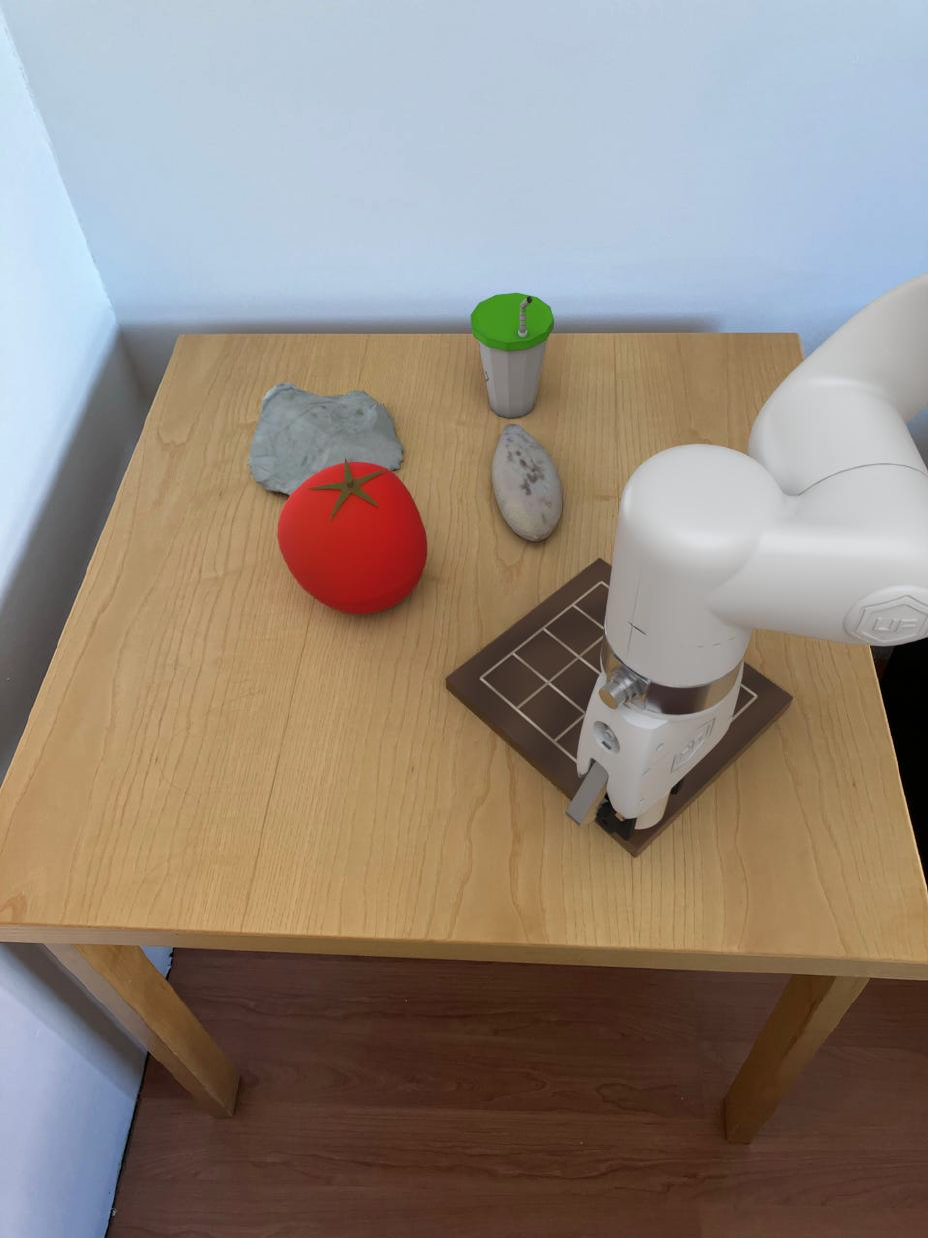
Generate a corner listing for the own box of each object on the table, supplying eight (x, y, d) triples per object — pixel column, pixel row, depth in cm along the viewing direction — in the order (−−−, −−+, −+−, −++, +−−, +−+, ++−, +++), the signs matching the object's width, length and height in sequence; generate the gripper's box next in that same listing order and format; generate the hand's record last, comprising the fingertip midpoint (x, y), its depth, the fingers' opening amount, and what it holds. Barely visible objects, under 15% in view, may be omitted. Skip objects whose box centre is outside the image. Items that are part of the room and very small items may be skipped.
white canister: (678, 802, 67) (687, 775, 63) (638, 841, 65) (645, 815, 62) (632, 764, 69) (638, 735, 65) (592, 801, 67) (596, 773, 64)
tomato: (454, 556, 85) (445, 451, 75) (400, 657, 79) (383, 556, 69) (331, 522, 89) (307, 416, 79) (269, 615, 82) (235, 513, 72)
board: (789, 707, 74) (794, 696, 73) (635, 859, 67) (637, 849, 66) (598, 568, 84) (599, 556, 83) (445, 688, 77) (444, 677, 76)
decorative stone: (539, 433, 95) (540, 406, 92) (576, 548, 85) (578, 521, 83) (478, 442, 94) (477, 415, 92) (509, 558, 85) (509, 532, 82)
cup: (481, 375, 100) (477, 244, 89) (555, 382, 99) (561, 250, 87) (466, 425, 96) (460, 293, 84) (544, 433, 95) (548, 301, 83)
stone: (308, 511, 85) (205, 414, 90) (309, 541, 89) (209, 445, 94) (434, 433, 93) (333, 347, 97) (430, 463, 96) (332, 378, 101)
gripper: (619, 789, 47) (594, 922, 62) (821, 602, 54) (755, 762, 68) (512, 697, 51) (512, 843, 65) (714, 531, 57) (673, 698, 72)
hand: (636, 800), depth 66 cm, fingers closed on white canister, 4 cm apart
